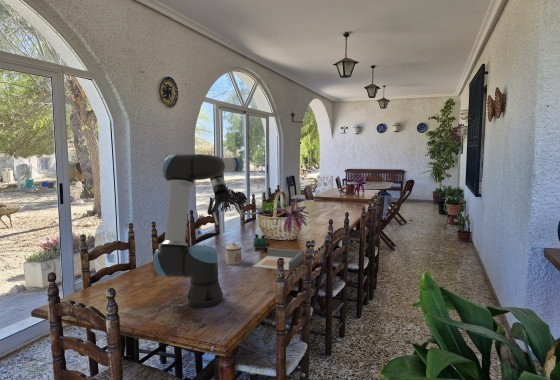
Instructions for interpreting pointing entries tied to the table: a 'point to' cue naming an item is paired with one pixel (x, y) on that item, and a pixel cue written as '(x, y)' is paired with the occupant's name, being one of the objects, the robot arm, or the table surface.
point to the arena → (289, 256)
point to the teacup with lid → (233, 254)
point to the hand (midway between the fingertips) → (229, 219)
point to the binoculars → (260, 243)
